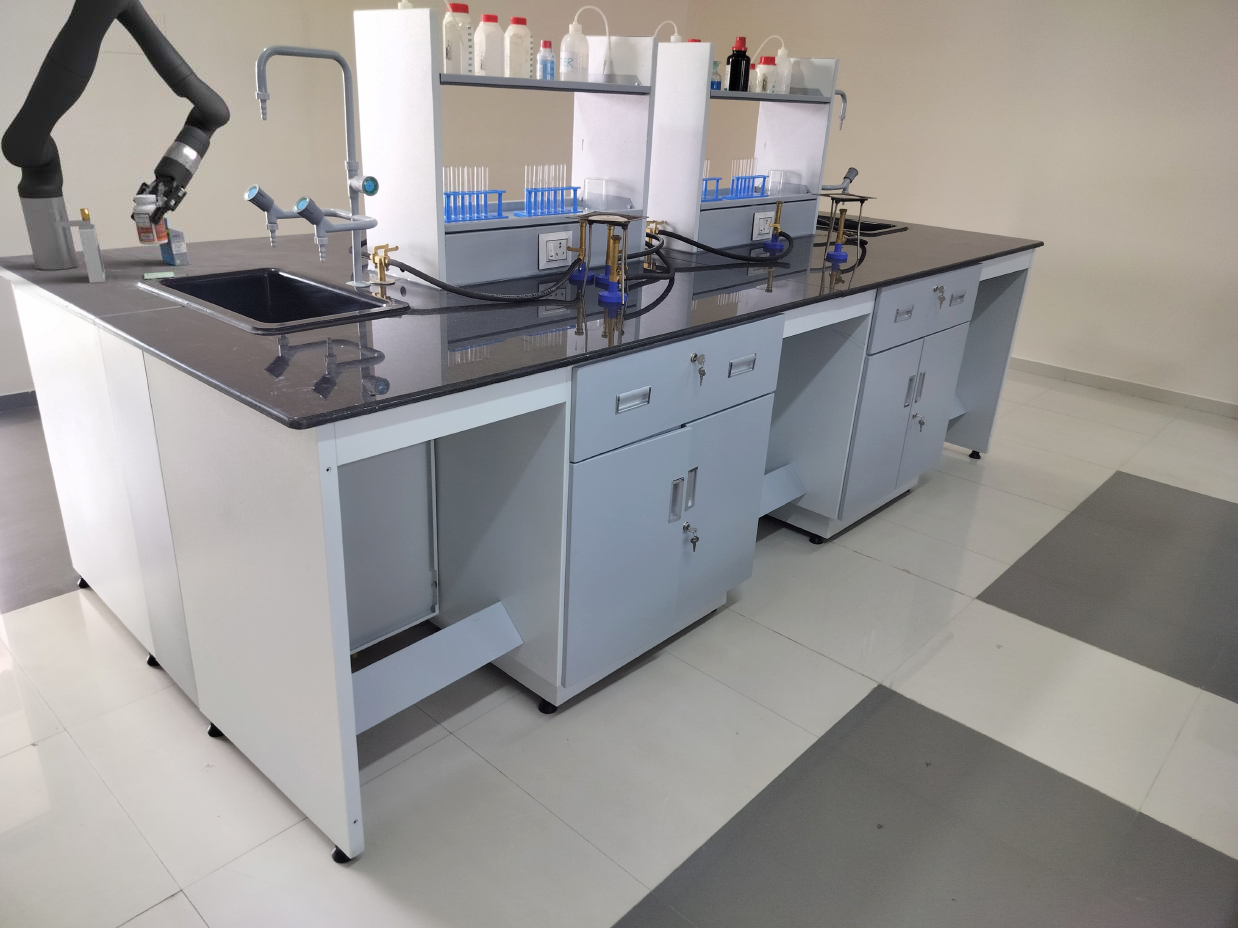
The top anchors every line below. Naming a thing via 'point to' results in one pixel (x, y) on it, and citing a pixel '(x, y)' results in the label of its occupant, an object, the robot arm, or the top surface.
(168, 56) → the robot arm
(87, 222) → the clip
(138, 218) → the pill bottle
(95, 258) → the socket panel
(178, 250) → the label tape box
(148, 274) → the mat
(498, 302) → the top surface
